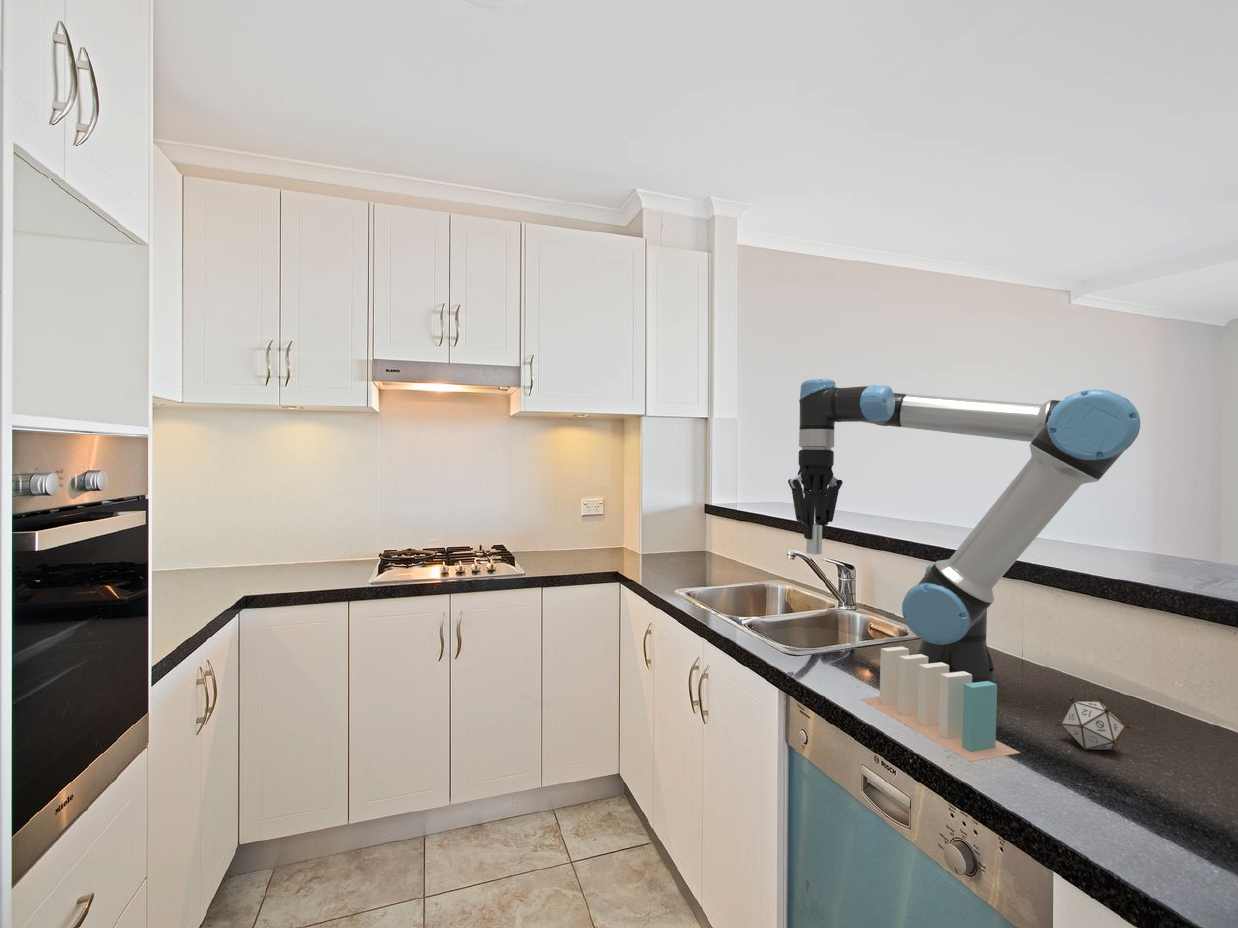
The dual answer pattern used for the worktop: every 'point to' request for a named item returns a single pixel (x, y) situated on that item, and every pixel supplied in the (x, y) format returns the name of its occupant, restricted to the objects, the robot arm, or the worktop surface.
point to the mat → (933, 734)
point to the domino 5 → (979, 716)
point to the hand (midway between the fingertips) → (813, 553)
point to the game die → (1092, 725)
